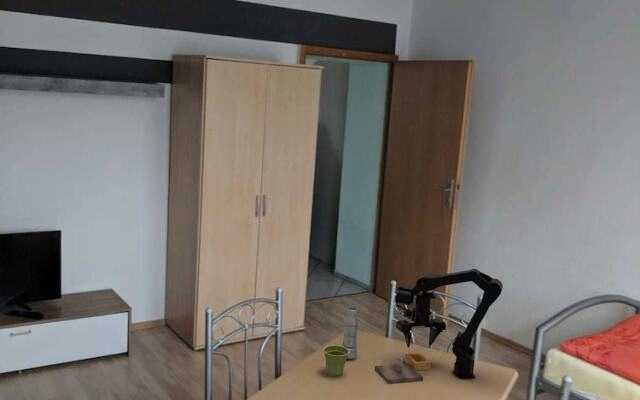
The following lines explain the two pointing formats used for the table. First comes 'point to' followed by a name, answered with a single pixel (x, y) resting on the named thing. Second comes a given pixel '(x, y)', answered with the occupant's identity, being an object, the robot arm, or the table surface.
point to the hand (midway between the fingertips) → (419, 346)
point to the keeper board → (398, 372)
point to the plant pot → (335, 359)
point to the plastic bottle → (351, 332)
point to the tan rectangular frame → (417, 361)
